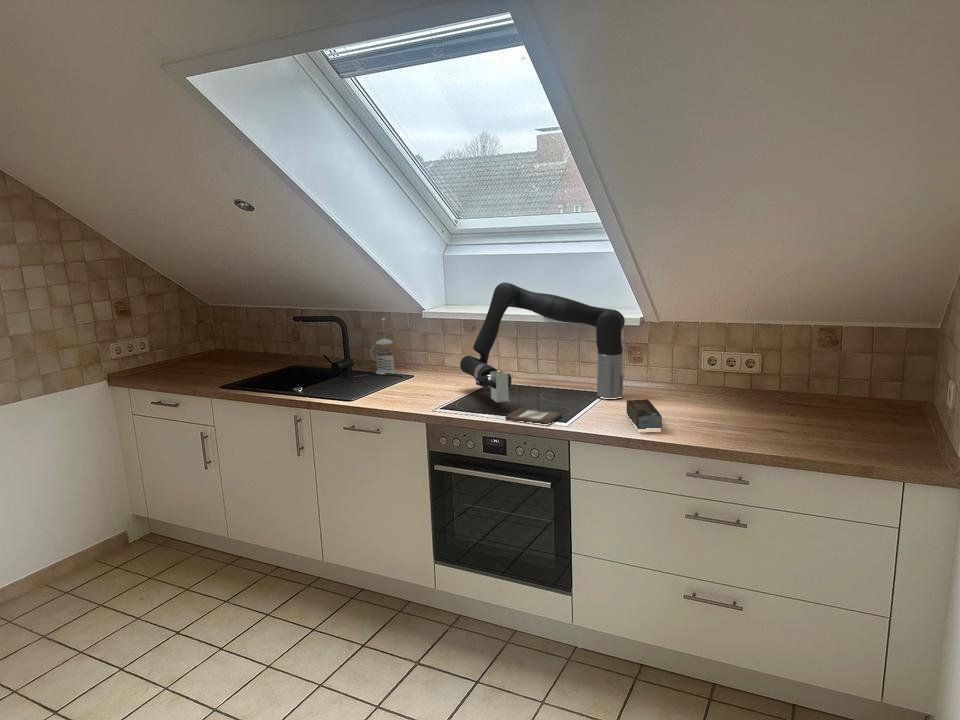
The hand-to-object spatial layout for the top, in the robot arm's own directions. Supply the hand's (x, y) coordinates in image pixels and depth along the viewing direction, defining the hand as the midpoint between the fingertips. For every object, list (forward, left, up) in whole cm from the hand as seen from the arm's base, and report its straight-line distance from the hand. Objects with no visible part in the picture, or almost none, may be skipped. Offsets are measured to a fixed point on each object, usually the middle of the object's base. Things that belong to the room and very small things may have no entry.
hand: (502, 384), depth 244 cm
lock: (+1, -3, -6) cm, 7 cm away
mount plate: (-11, +7, -10) cm, 17 cm away
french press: (+54, -69, -11) cm, 88 cm away
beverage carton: (-47, +16, -11) cm, 51 cm away
